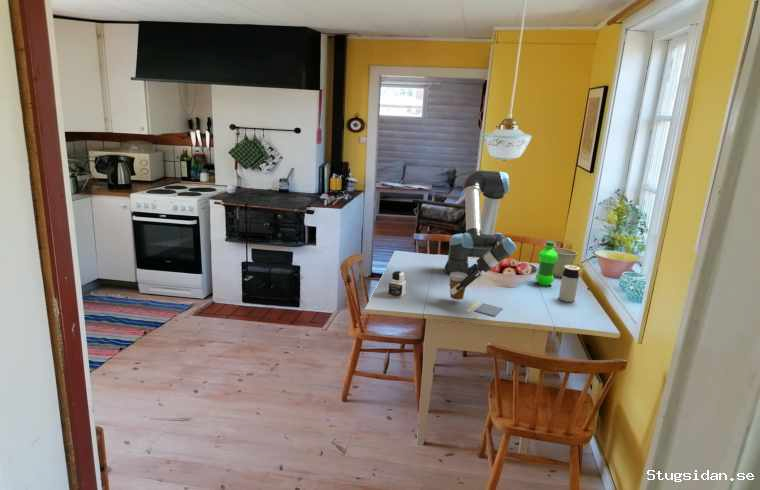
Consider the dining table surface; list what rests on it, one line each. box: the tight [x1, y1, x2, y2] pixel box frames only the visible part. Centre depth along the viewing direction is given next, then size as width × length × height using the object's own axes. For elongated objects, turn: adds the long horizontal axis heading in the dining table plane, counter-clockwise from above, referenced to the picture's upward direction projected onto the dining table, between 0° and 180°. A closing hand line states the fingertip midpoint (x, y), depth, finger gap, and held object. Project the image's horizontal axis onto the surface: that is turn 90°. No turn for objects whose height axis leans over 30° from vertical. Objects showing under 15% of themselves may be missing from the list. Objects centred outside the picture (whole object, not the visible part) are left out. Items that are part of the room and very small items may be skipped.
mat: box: [474, 302, 504, 317], centre depth 234 cm, size 10×12×1 cm
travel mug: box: [558, 265, 581, 303], centre depth 254 cm, size 8×8×18 cm
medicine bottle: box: [387, 271, 407, 299], centre depth 245 cm, size 7×7×12 cm
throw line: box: [465, 301, 481, 313], centre depth 237 cm, size 1×16×1 cm, turn 149°
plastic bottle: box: [535, 241, 558, 287], centre depth 275 cm, size 10×10×25 cm
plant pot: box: [553, 247, 578, 278], centre depth 295 cm, size 15×15×16 cm
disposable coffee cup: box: [448, 272, 468, 300], centre depth 240 cm, size 10×10×12 cm
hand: (450, 289), depth 241 cm, fingers closed on disposable coffee cup, 8 cm apart
